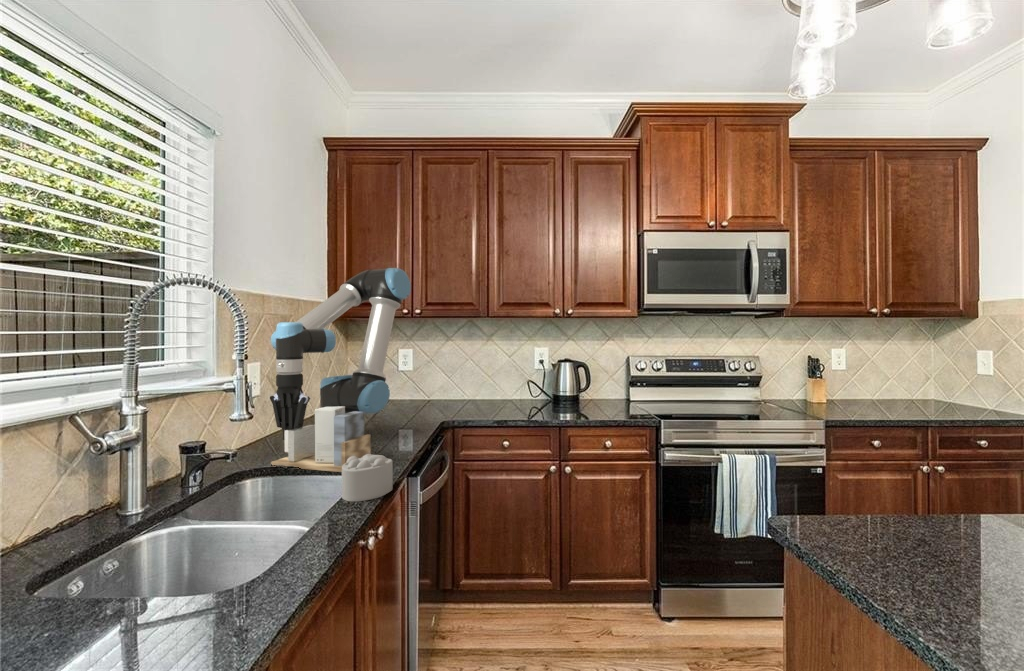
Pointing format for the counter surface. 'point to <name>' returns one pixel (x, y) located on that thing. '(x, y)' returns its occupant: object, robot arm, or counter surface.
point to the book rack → (339, 444)
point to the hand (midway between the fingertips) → (289, 451)
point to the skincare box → (325, 433)
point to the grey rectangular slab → (301, 443)
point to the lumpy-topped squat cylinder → (366, 477)
